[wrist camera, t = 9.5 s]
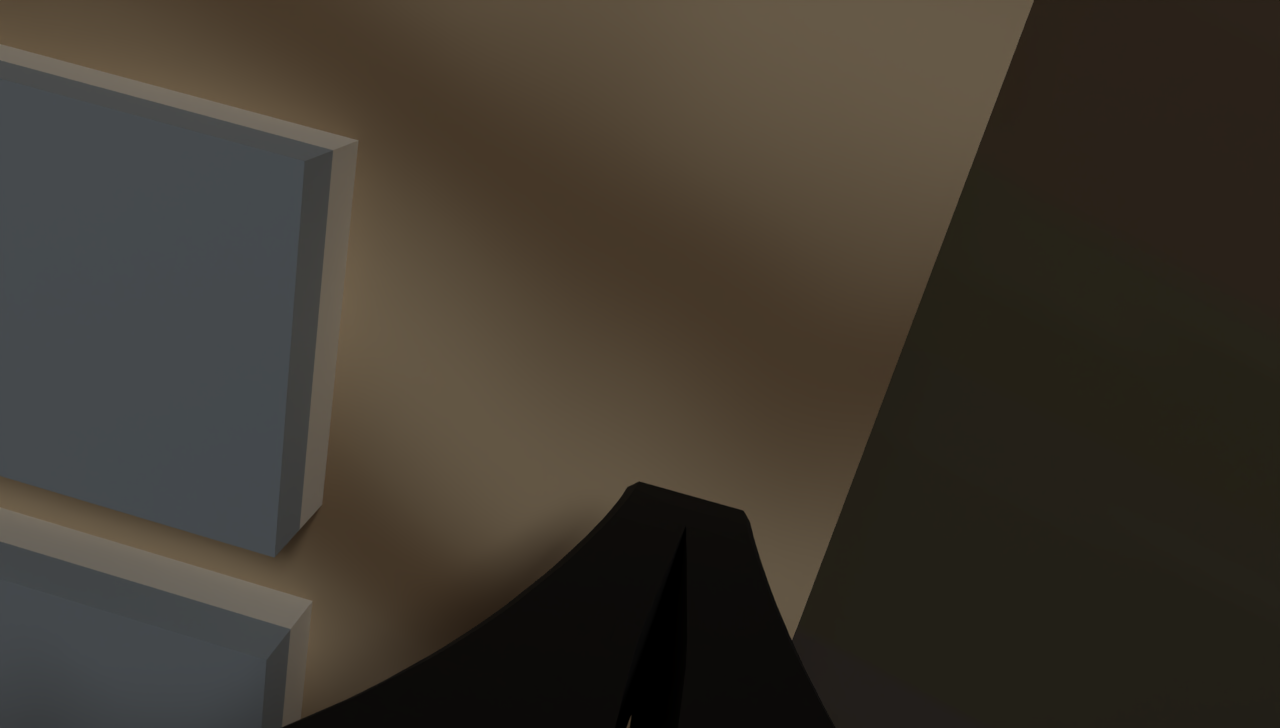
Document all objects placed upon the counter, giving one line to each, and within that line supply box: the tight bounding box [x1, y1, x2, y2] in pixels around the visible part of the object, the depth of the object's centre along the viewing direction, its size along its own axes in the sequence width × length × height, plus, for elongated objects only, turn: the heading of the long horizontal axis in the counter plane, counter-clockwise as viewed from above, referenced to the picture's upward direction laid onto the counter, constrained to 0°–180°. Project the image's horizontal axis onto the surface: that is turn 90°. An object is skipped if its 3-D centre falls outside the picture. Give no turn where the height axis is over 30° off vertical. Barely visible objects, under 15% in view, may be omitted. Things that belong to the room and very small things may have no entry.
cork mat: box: [0, 0, 1034, 728], centre depth 16 cm, size 22×16×1 cm
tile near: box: [0, 44, 359, 558], centre depth 13 cm, size 6×2×6 cm
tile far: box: [0, 507, 312, 728], centre depth 17 cm, size 6×2×6 cm
